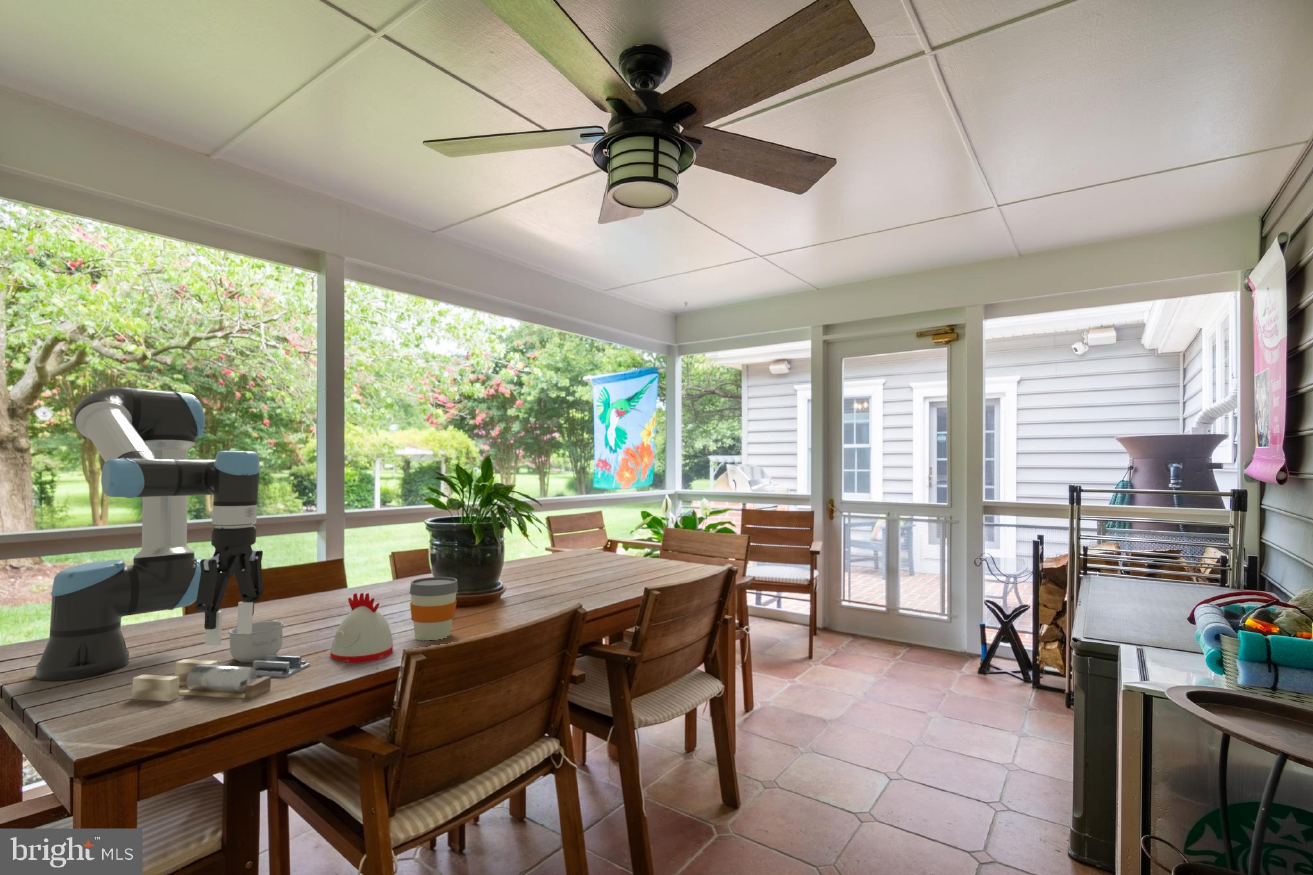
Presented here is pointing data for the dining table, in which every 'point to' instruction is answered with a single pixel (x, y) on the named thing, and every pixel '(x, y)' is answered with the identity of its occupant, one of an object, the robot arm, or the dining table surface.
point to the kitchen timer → (362, 633)
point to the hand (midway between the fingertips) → (229, 638)
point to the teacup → (257, 641)
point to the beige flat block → (169, 685)
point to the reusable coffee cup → (433, 606)
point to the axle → (220, 678)
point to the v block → (279, 666)
